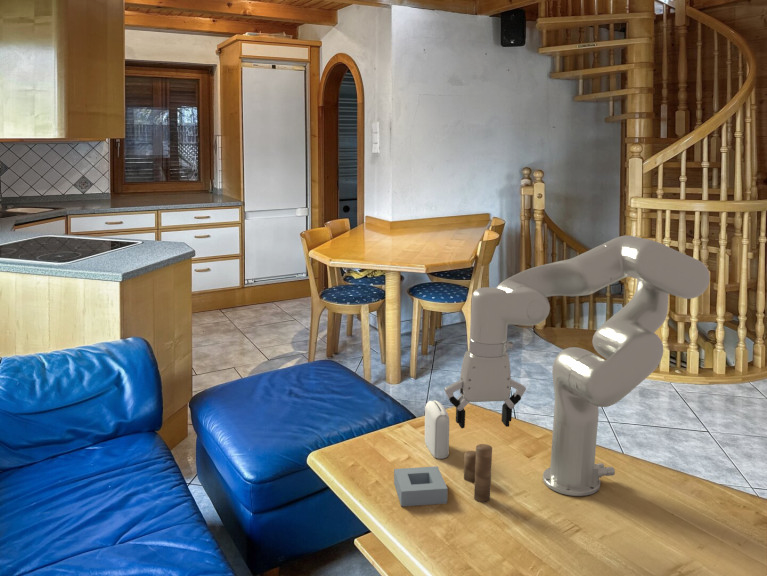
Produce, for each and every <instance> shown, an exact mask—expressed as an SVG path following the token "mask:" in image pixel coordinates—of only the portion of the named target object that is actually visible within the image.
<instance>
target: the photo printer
mask: <svg viewBox="0 0 767 576" xmlns="http://www.w3.org/2000/svg"><path fill="white" fill-rule="evenodd" d="M424 444H425V447H426V448H427V449H428V451H429V452H430V454H431V455H432V456H433V458H436V459H446V458H447V457H449V453H450V416H449V413H448V411H447V409H446V407H444V405H443V404H442V403H441V402H440V401H437V400H429V401H427V402H426V404H425V407H424Z"/></svg>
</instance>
